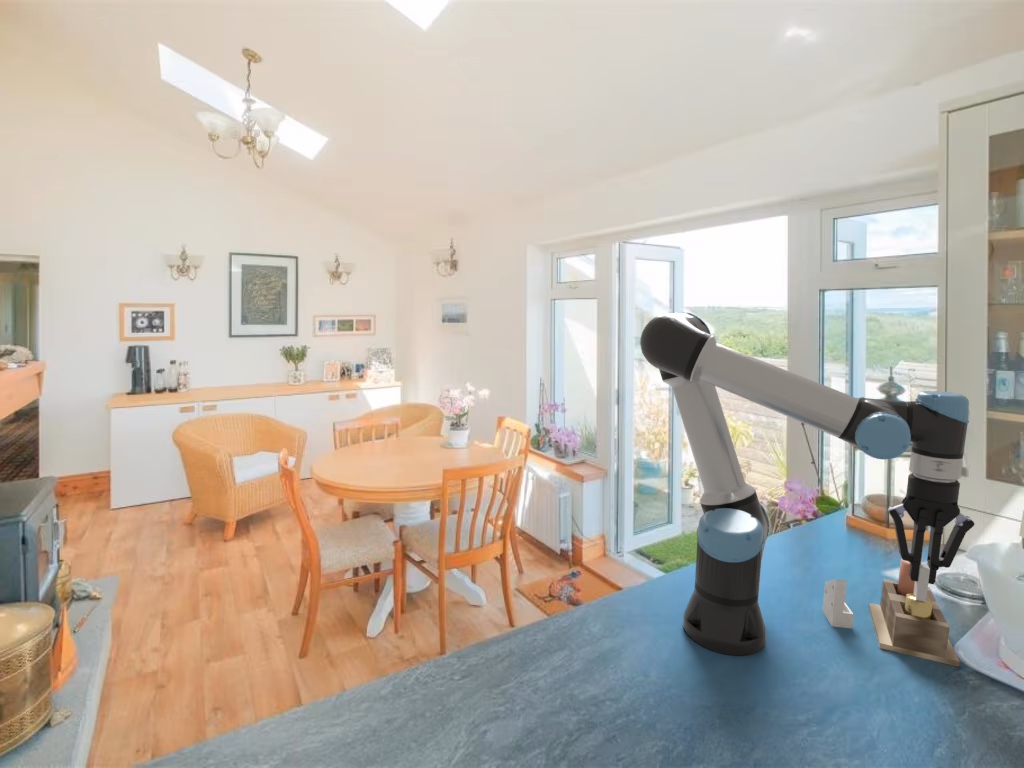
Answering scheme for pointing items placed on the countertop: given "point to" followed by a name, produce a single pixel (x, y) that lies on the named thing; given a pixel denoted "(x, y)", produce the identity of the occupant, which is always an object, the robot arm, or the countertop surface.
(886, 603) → the socket block
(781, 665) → the countertop surface
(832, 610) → the white wedge bracket
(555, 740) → the countertop surface
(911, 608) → the brass plug
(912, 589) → the red plug
